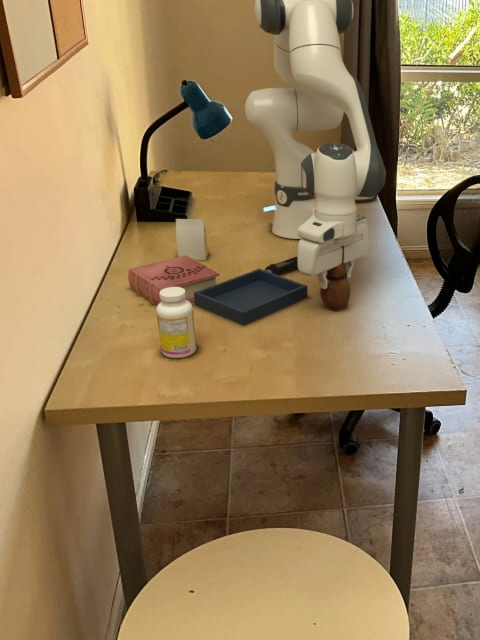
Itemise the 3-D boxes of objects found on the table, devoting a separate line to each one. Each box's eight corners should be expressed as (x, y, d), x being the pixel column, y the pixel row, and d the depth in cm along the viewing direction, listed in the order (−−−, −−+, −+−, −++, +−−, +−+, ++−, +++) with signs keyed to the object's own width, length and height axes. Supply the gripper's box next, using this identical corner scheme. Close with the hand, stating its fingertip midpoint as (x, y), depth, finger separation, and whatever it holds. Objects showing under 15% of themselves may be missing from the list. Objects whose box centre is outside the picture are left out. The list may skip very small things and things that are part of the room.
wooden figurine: (355, 308, 168) (356, 245, 161) (335, 315, 165) (335, 251, 158) (335, 299, 172) (336, 237, 166) (315, 305, 169) (315, 242, 162)
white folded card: (205, 260, 190) (202, 222, 185) (178, 259, 189) (174, 221, 185) (207, 254, 193) (204, 217, 189) (180, 254, 192) (177, 216, 188)
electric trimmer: (317, 264, 191) (317, 253, 190) (272, 280, 180) (272, 268, 179) (306, 261, 193) (306, 249, 192) (261, 276, 182) (261, 264, 181)
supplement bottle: (175, 341, 150) (169, 281, 144) (203, 348, 148) (198, 288, 142) (153, 355, 145) (146, 294, 139) (182, 362, 143) (176, 301, 137)
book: (127, 290, 171) (125, 269, 169) (187, 274, 181) (185, 255, 179) (159, 310, 162) (157, 289, 160) (220, 292, 172) (219, 272, 170)
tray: (259, 280, 180) (259, 268, 179) (307, 297, 172) (307, 285, 171) (194, 305, 166) (193, 292, 164) (243, 325, 158) (243, 312, 157)
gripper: (355, 209, 169) (354, 266, 175) (291, 230, 154) (293, 292, 160) (377, 215, 166) (375, 273, 172) (314, 237, 150) (315, 300, 157)
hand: (335, 282), depth 166 cm, fingers open, 6 cm apart
